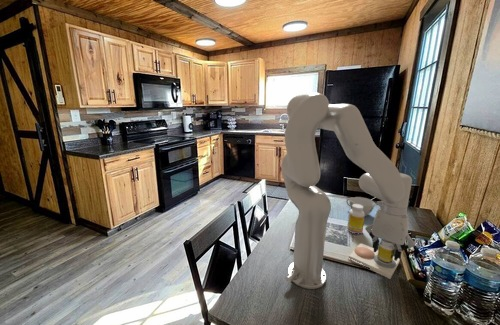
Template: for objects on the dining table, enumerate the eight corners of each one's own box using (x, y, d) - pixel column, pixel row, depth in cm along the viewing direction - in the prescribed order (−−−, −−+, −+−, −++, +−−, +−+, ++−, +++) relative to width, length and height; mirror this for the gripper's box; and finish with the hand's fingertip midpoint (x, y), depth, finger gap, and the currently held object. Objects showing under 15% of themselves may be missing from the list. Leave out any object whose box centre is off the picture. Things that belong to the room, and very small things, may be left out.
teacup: (377, 215, 121) (379, 201, 119) (366, 221, 113) (368, 207, 112) (351, 206, 132) (353, 193, 131) (339, 211, 125) (341, 198, 123)
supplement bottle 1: (364, 235, 101) (367, 209, 98) (348, 234, 102) (351, 208, 99) (360, 228, 107) (363, 203, 104) (345, 226, 108) (348, 202, 105)
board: (390, 278, 75) (391, 273, 74) (348, 259, 84) (349, 254, 84) (399, 262, 83) (400, 257, 82) (360, 246, 92) (360, 242, 92)
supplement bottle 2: (391, 266, 77) (395, 245, 76) (376, 262, 80) (380, 241, 78) (391, 259, 81) (395, 239, 80) (377, 255, 84) (380, 235, 82)
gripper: (363, 204, 79) (357, 248, 83) (422, 221, 67) (412, 271, 71) (370, 198, 85) (364, 240, 89) (426, 213, 73) (416, 261, 77)
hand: (385, 254), depth 80 cm, fingers open, 6 cm apart
